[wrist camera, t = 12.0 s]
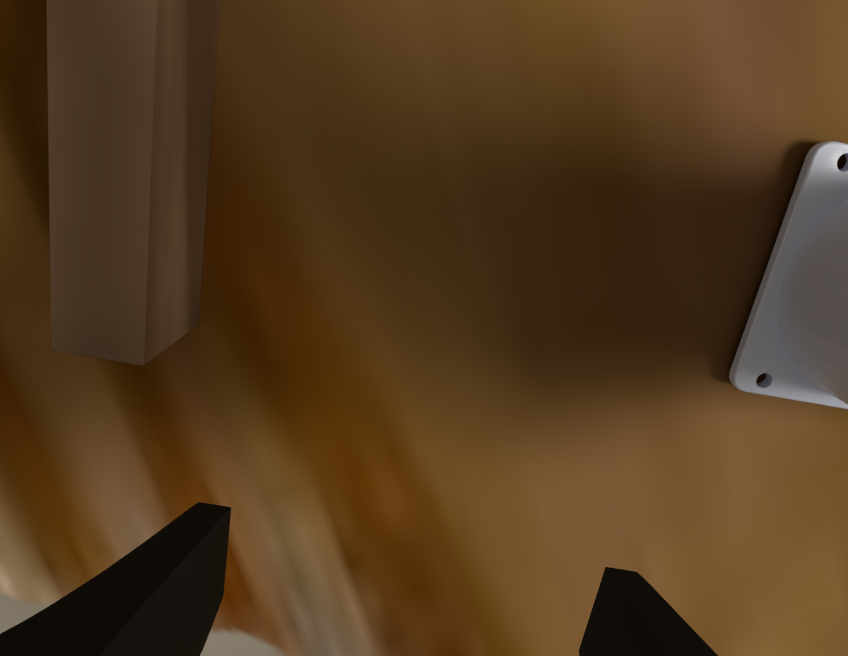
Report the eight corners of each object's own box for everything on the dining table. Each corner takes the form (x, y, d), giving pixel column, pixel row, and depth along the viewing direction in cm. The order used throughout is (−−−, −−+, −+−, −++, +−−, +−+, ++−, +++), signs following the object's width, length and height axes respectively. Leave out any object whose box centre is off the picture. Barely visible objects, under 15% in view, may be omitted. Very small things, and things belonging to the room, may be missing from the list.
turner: (310, -296, 15) (267, -451, 11) (251, 332, 20) (208, 376, 16) (72, -347, 15) (-58, -525, 11) (73, 301, 19) (-15, 339, 16)
